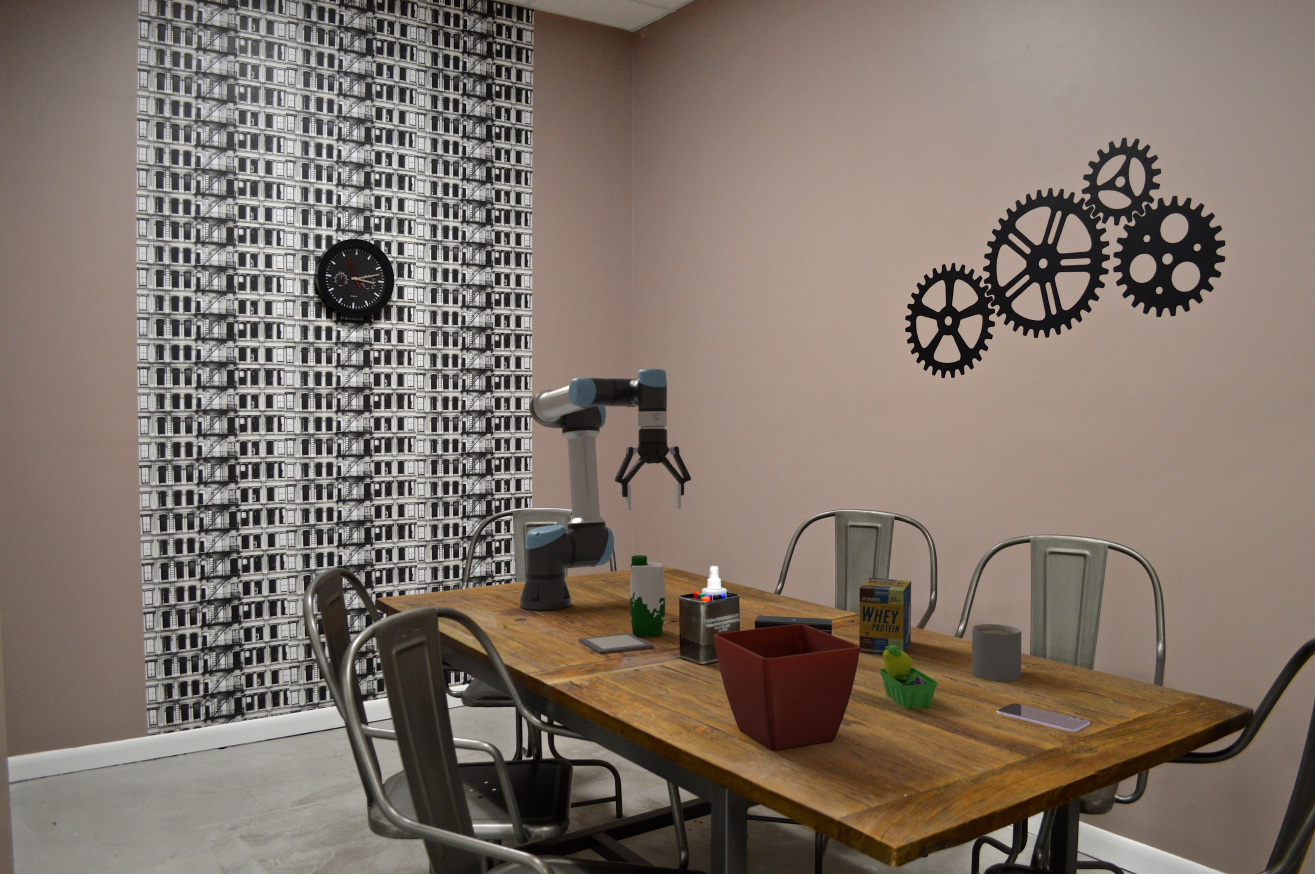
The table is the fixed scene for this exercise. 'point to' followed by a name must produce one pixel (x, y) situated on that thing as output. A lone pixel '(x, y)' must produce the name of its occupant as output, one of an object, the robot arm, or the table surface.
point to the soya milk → (647, 597)
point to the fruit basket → (906, 680)
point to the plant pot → (787, 682)
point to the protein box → (884, 615)
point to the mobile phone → (1043, 717)
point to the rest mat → (615, 643)
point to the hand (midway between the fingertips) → (653, 509)
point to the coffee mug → (996, 652)
